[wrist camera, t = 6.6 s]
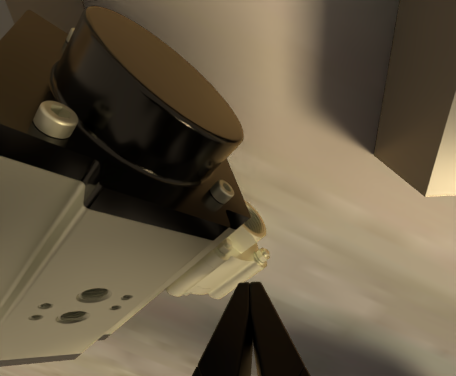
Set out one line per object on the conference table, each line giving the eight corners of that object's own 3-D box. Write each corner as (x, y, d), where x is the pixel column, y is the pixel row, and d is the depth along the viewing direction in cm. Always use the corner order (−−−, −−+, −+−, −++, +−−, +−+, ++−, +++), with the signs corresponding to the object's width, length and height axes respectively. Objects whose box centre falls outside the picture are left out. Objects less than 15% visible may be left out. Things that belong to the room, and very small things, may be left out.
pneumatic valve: (167, 268, 18) (-99, 231, 10) (301, 150, 13) (-15, -103, 5) (180, 362, 14) (-225, 418, 6) (373, 246, 9) (-345, -125, 1)
